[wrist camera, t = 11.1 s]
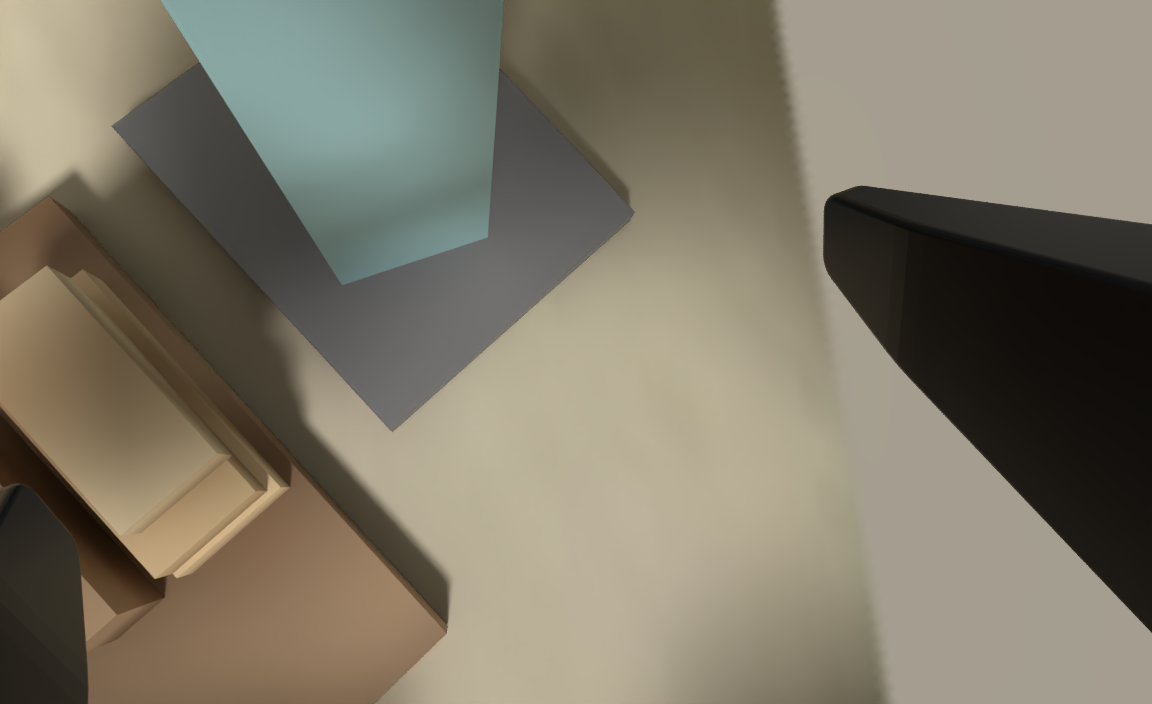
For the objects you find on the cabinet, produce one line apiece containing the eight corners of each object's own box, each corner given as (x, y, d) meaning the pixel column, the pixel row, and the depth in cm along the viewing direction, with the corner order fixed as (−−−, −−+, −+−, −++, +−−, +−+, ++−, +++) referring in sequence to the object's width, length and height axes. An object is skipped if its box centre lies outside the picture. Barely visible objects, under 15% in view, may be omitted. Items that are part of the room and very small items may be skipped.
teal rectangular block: (487, 237, 16) (516, -178, 6) (341, 285, 16) (109, -82, 6) (420, 60, 17) (343, -603, 7) (277, 100, 16) (-49, -550, 6)
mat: (629, 220, 18) (635, 211, 17) (392, 431, 16) (390, 429, 16) (377, -47, 18) (374, -65, 17) (124, 139, 16) (111, 126, 16)
